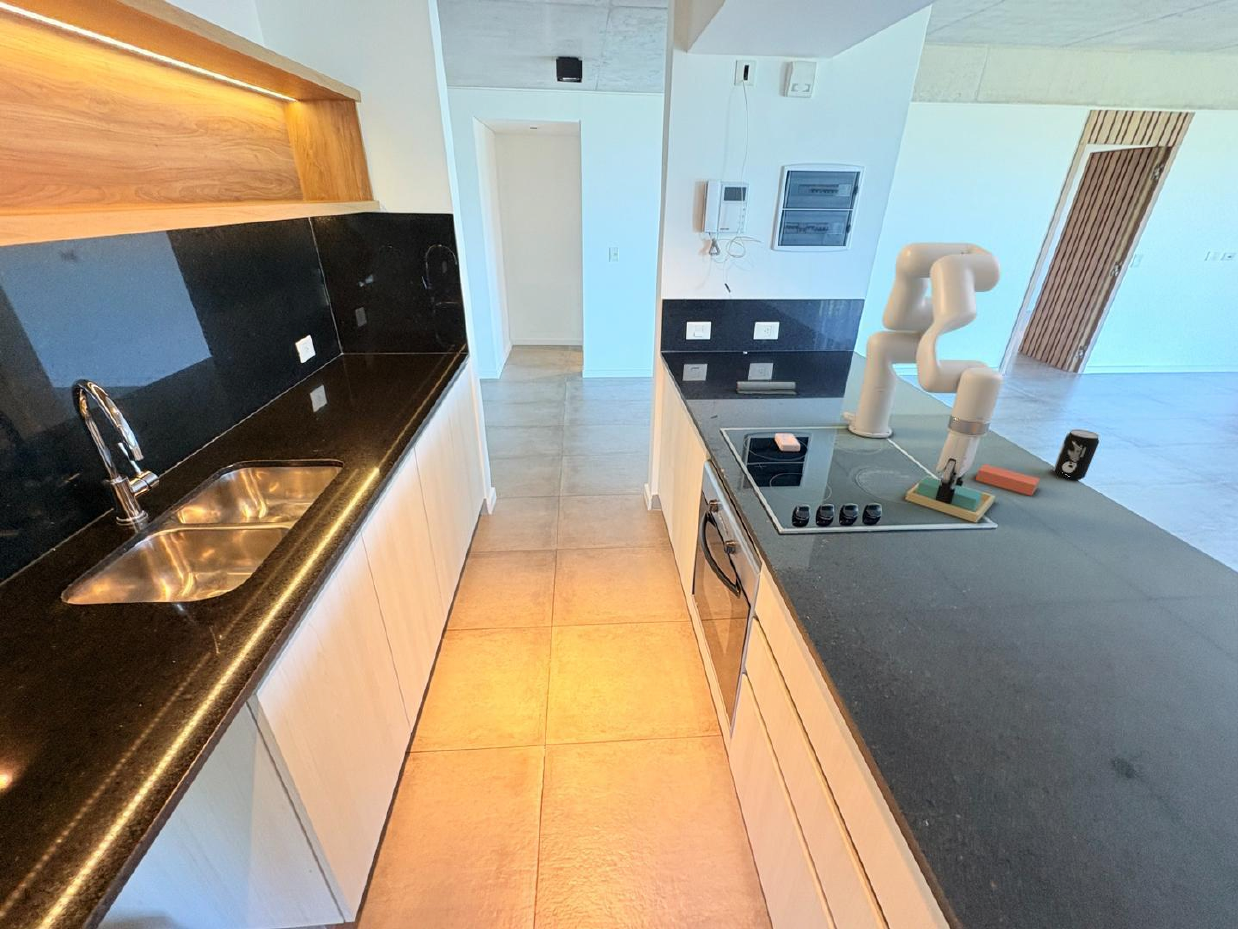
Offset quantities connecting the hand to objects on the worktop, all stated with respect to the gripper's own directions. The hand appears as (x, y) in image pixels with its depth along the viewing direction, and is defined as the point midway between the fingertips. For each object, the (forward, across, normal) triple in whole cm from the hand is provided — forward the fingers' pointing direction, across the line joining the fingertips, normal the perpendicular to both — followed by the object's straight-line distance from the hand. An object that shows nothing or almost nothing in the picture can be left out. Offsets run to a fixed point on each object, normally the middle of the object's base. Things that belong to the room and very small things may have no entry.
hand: (947, 497), depth 124 cm
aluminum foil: (0, -49, -80) cm, 94 cm away
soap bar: (+2, -6, -45) cm, 46 cm away
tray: (+2, -3, 0) cm, 4 cm away
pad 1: (0, 0, 0) cm, 0 cm away
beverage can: (+2, -41, +17) cm, 44 cm away
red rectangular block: (+2, -23, +7) cm, 24 cm away
